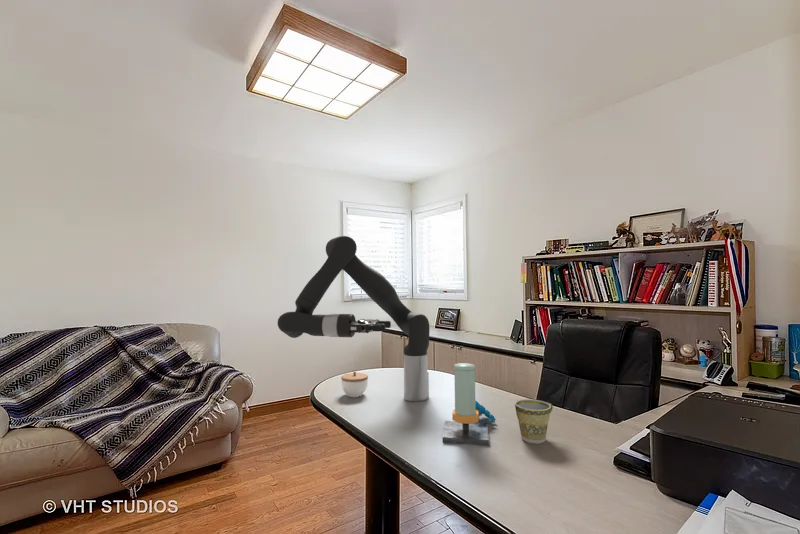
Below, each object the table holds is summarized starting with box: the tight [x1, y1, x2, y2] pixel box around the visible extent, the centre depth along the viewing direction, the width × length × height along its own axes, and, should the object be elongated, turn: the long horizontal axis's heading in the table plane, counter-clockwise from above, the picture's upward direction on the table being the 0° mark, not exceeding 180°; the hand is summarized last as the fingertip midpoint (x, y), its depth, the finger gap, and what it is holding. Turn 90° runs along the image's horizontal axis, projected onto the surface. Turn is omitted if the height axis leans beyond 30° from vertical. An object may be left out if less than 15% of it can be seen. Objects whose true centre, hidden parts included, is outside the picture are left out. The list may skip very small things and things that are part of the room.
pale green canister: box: [454, 362, 476, 416], centre depth 117 cm, size 6×6×14 cm
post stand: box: [442, 420, 490, 446], centre depth 117 cm, size 13×13×18 cm
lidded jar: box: [340, 371, 369, 398], centre depth 158 cm, size 11×11×9 cm
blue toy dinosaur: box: [475, 400, 496, 422], centre depth 128 cm, size 11×6×10 cm
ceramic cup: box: [514, 398, 554, 445], centre depth 115 cm, size 13×10×10 cm
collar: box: [451, 408, 480, 424], centre depth 117 cm, size 8×8×2 cm
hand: (387, 326), depth 124 cm, fingers open, 8 cm apart
